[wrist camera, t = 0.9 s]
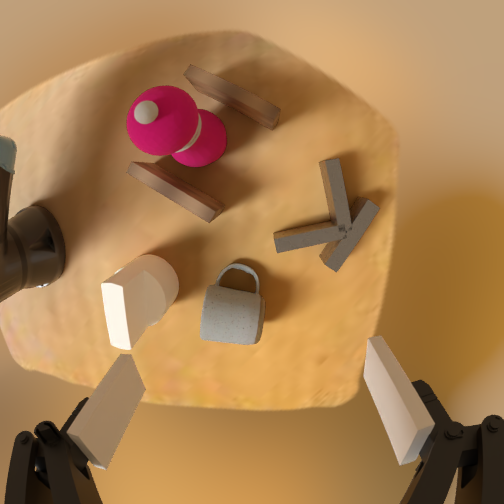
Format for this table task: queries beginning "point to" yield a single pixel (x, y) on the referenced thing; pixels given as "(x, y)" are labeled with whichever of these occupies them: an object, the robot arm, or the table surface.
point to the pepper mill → (175, 127)
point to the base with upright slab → (138, 298)
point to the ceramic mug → (232, 312)
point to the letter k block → (332, 221)
